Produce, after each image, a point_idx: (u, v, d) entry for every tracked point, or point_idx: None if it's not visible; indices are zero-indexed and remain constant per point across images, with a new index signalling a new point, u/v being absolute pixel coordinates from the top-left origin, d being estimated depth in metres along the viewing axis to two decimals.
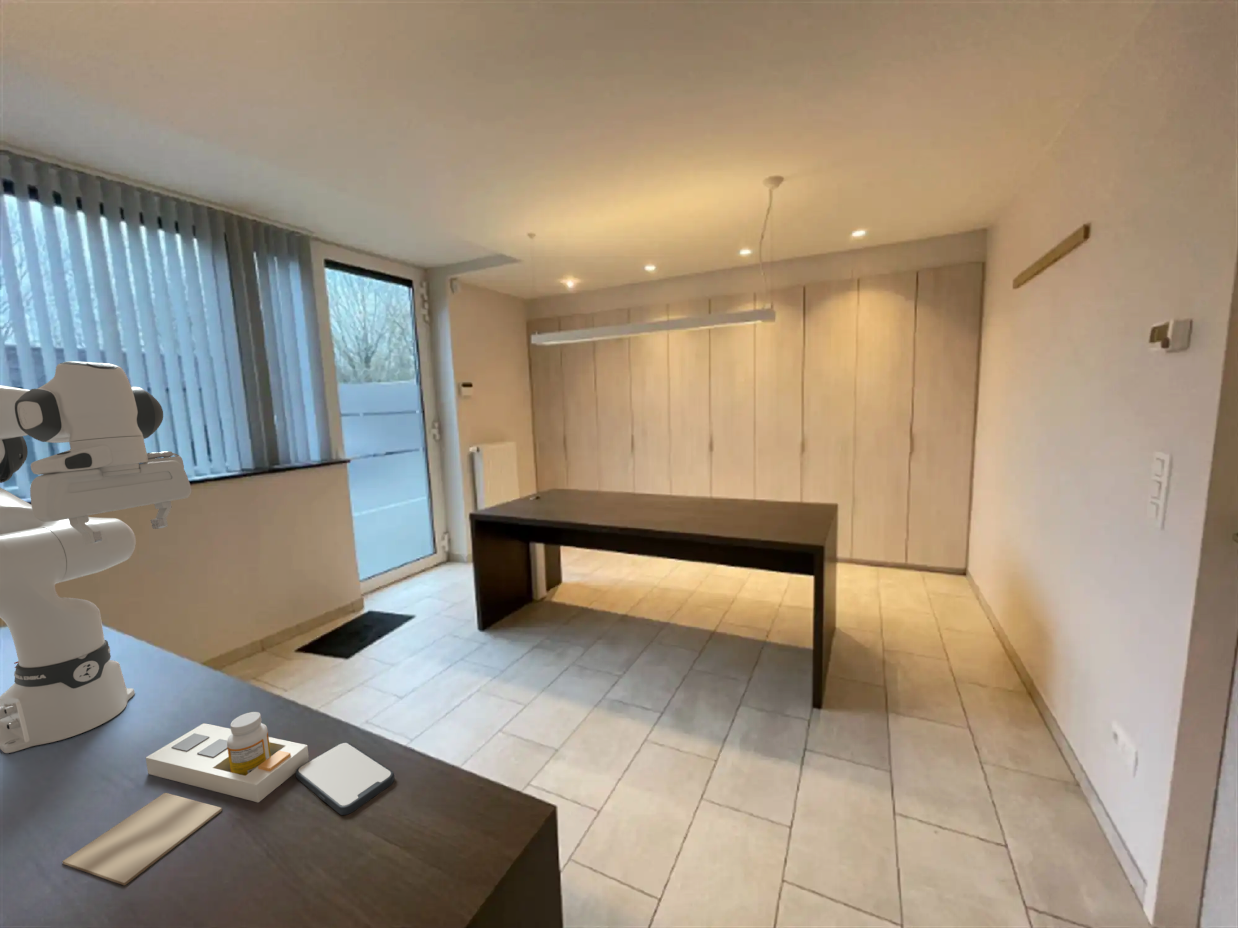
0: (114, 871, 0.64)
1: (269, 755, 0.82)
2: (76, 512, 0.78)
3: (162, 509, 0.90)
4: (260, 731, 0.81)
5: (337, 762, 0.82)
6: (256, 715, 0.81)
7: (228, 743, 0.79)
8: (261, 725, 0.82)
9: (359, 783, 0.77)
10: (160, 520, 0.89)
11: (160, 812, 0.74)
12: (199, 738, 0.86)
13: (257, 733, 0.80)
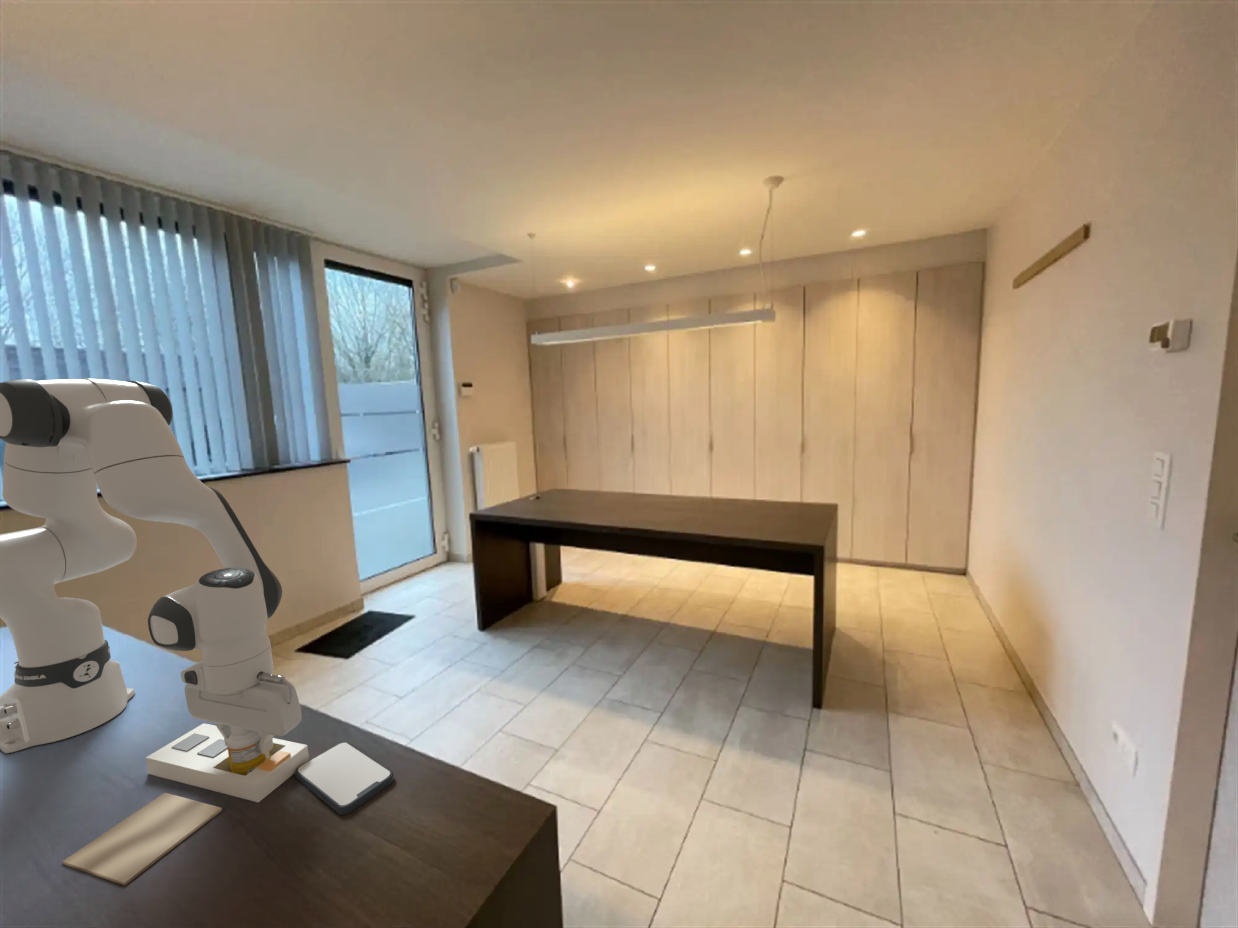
0: (114, 871, 0.64)
1: (269, 755, 0.82)
2: (203, 717, 0.81)
3: None
4: None
5: (336, 762, 0.82)
6: None
7: (228, 743, 0.79)
8: None
9: (358, 783, 0.78)
10: (257, 746, 0.79)
11: (160, 812, 0.74)
12: (199, 738, 0.86)
13: (257, 733, 0.80)
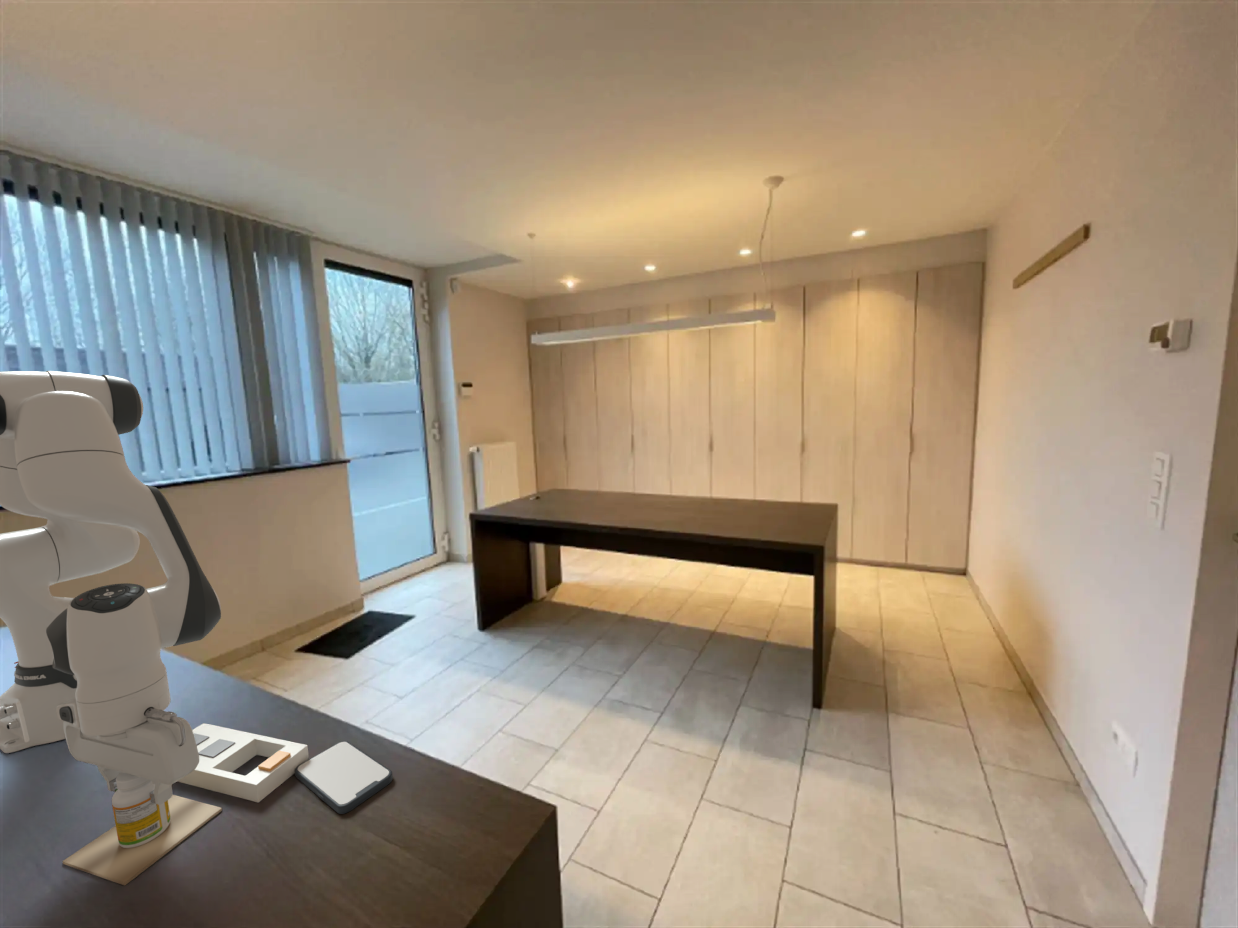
0: (114, 871, 0.64)
1: (166, 811, 0.71)
2: (85, 759, 0.69)
3: None
4: (153, 785, 0.69)
5: (336, 761, 0.83)
6: None
7: (112, 800, 0.67)
8: None
9: (357, 782, 0.78)
10: (151, 795, 0.67)
11: None
12: (199, 738, 0.86)
13: (149, 788, 0.69)
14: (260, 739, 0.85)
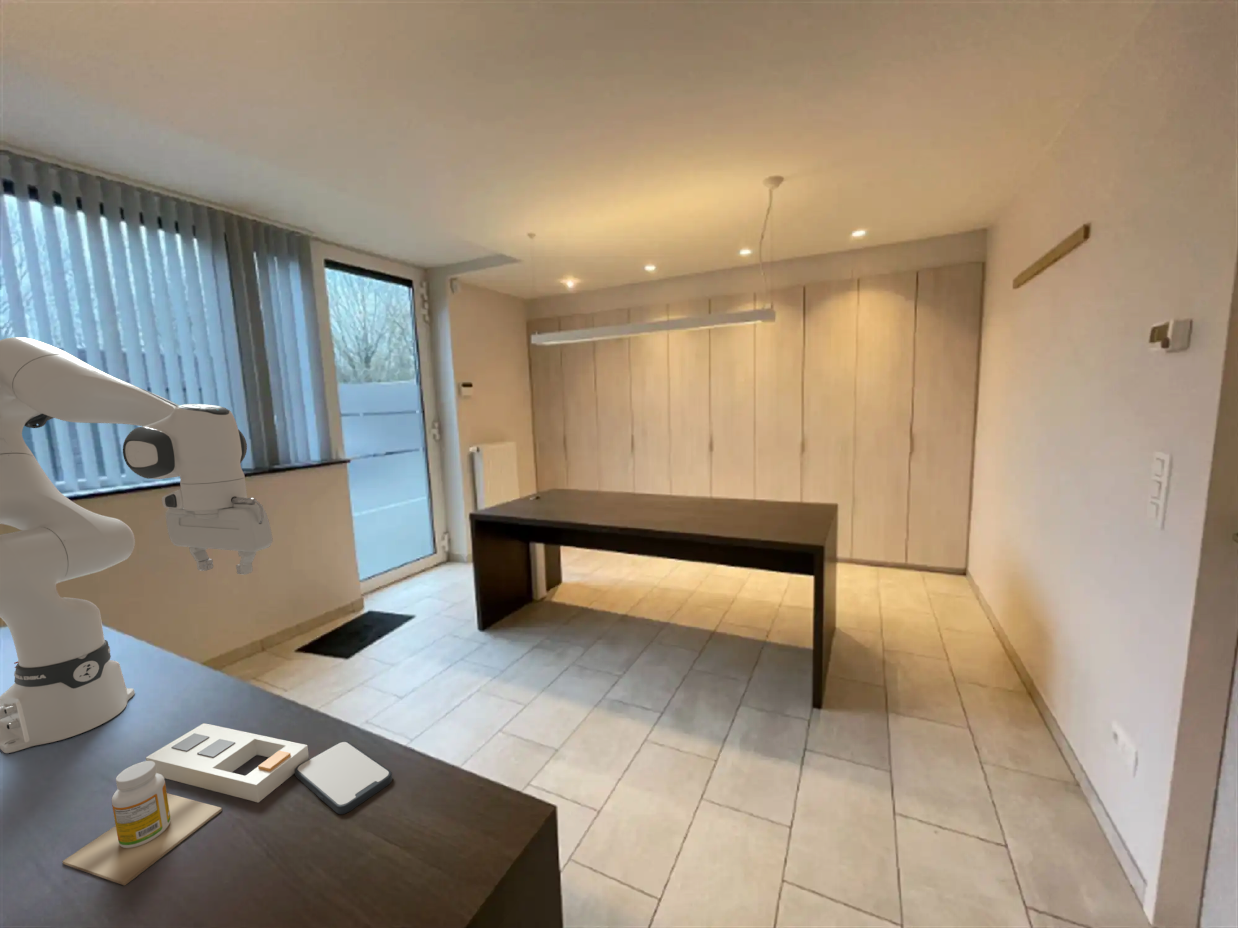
0: (114, 871, 0.64)
1: (166, 811, 0.71)
2: (182, 542, 0.88)
3: None
4: (153, 785, 0.69)
5: (336, 761, 0.83)
6: (149, 765, 0.70)
7: (112, 800, 0.67)
8: (156, 776, 0.70)
9: (357, 782, 0.78)
10: (237, 567, 0.86)
11: None
12: (199, 738, 0.86)
13: (149, 787, 0.69)
14: (260, 739, 0.85)
